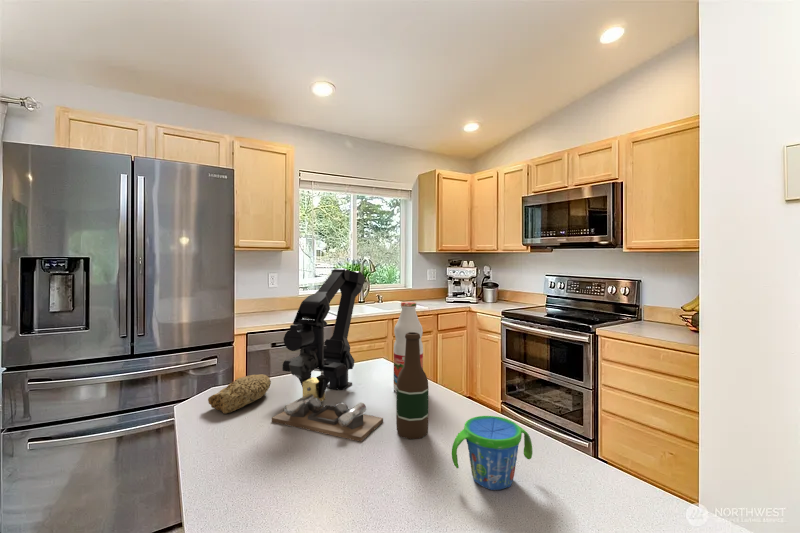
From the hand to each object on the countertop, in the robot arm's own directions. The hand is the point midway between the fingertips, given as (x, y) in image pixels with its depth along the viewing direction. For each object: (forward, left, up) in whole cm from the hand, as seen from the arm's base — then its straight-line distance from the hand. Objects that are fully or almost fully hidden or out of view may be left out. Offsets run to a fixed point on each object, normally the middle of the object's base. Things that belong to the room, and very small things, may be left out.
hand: (313, 396), depth 109 cm
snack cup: (+18, +54, -2) cm, 57 cm away
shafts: (+10, +11, 0) cm, 15 cm away
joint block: (0, 0, -1) cm, 1 cm away
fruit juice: (-21, +21, -2) cm, 30 cm away
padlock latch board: (+9, +11, -2) cm, 14 cm away
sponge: (+7, -19, -2) cm, 21 cm away
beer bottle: (+6, +33, -2) cm, 34 cm away
